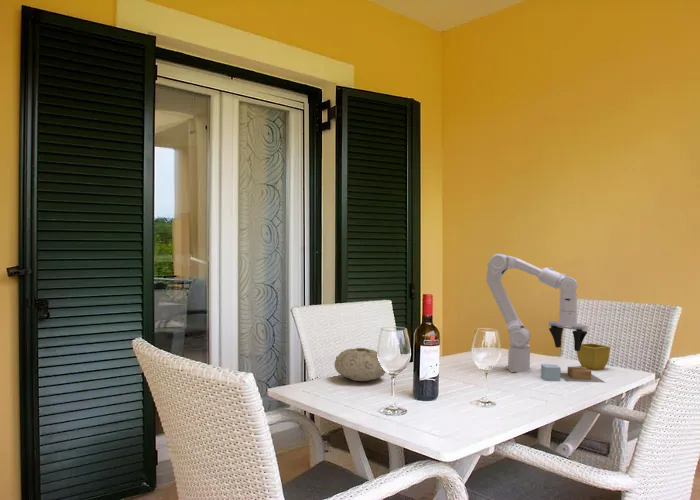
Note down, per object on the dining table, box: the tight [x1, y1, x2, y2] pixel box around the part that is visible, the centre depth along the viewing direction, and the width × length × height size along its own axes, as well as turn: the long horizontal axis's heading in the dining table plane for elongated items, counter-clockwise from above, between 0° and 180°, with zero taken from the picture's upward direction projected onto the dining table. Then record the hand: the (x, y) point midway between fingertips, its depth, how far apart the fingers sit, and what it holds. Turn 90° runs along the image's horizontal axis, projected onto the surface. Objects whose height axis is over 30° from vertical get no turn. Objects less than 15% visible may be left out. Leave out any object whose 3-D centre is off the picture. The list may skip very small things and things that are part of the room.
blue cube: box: [540, 363, 561, 382], centre depth 183 cm, size 5×5×5 cm
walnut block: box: [566, 366, 592, 380], centre depth 186 cm, size 6×6×3 cm
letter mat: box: [560, 372, 607, 384], centre depth 186 cm, size 13×13×1 cm
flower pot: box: [576, 342, 611, 371], centre depth 202 cm, size 9×9×9 cm
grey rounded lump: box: [333, 347, 387, 382], centre depth 179 cm, size 18×18×10 cm
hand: (567, 349), depth 190 cm, fingers open, 7 cm apart
